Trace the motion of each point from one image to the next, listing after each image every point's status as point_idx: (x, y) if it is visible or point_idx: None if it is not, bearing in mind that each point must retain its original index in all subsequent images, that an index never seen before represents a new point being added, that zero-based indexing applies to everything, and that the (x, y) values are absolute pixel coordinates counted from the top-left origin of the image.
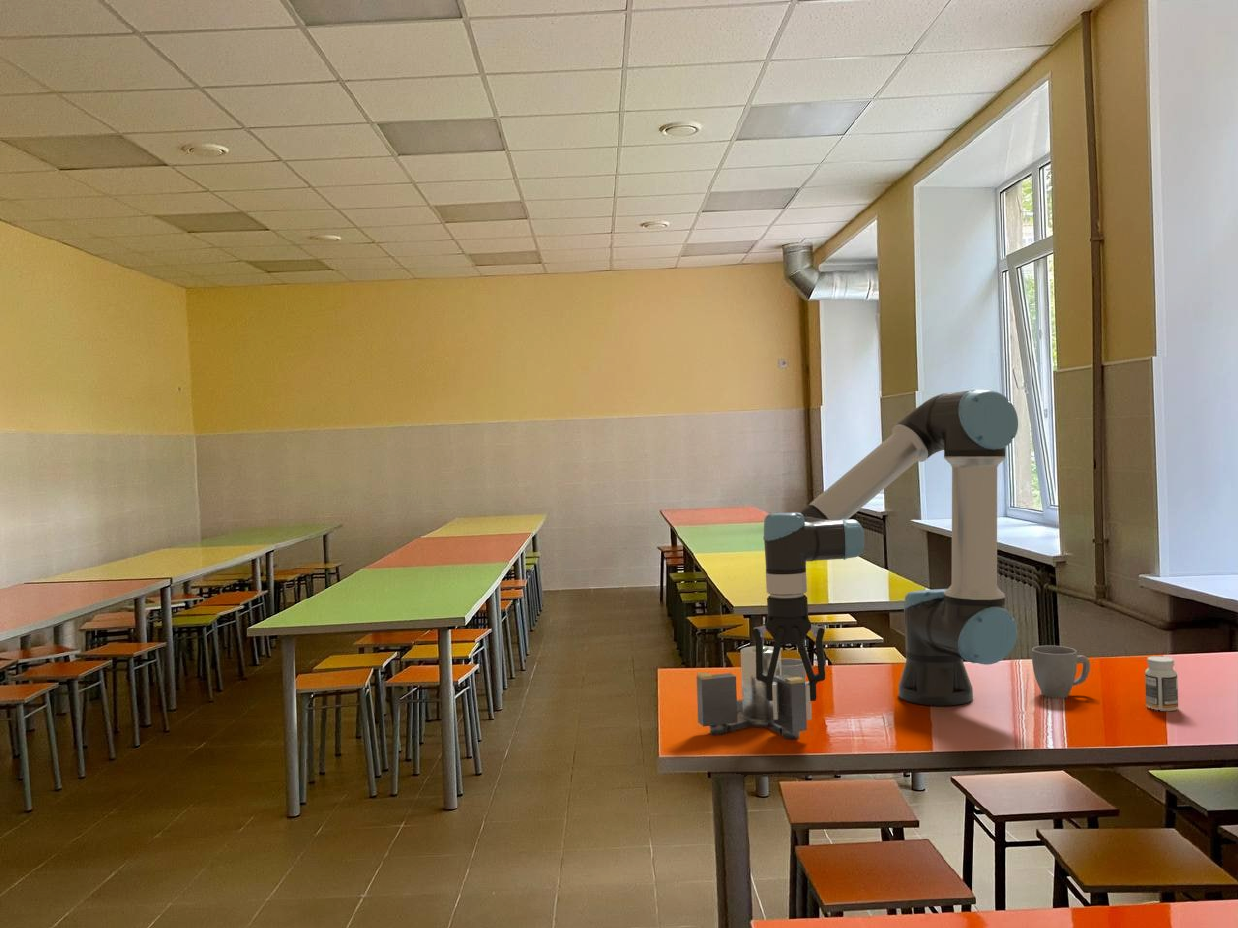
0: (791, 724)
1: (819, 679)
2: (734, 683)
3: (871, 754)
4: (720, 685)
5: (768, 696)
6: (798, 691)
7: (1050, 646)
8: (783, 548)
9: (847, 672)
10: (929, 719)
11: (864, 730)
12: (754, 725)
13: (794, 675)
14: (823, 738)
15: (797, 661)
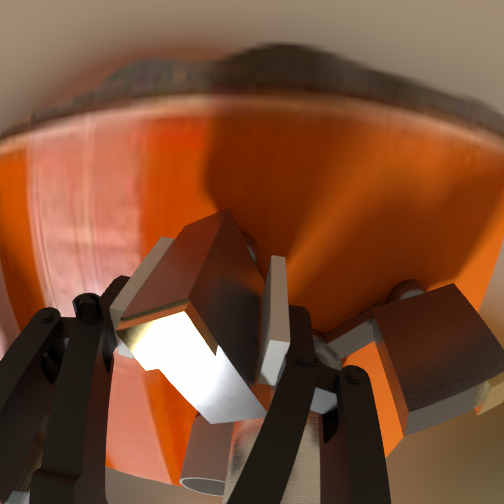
0: (228, 221)
1: (58, 315)
2: (408, 391)
3: (62, 113)
4: (453, 373)
5: (302, 318)
6: (164, 284)
7: None
8: None
9: (152, 471)
10: (15, 316)
11: (78, 281)
12: (315, 333)
13: (202, 461)
14: (152, 235)
15: (195, 487)
